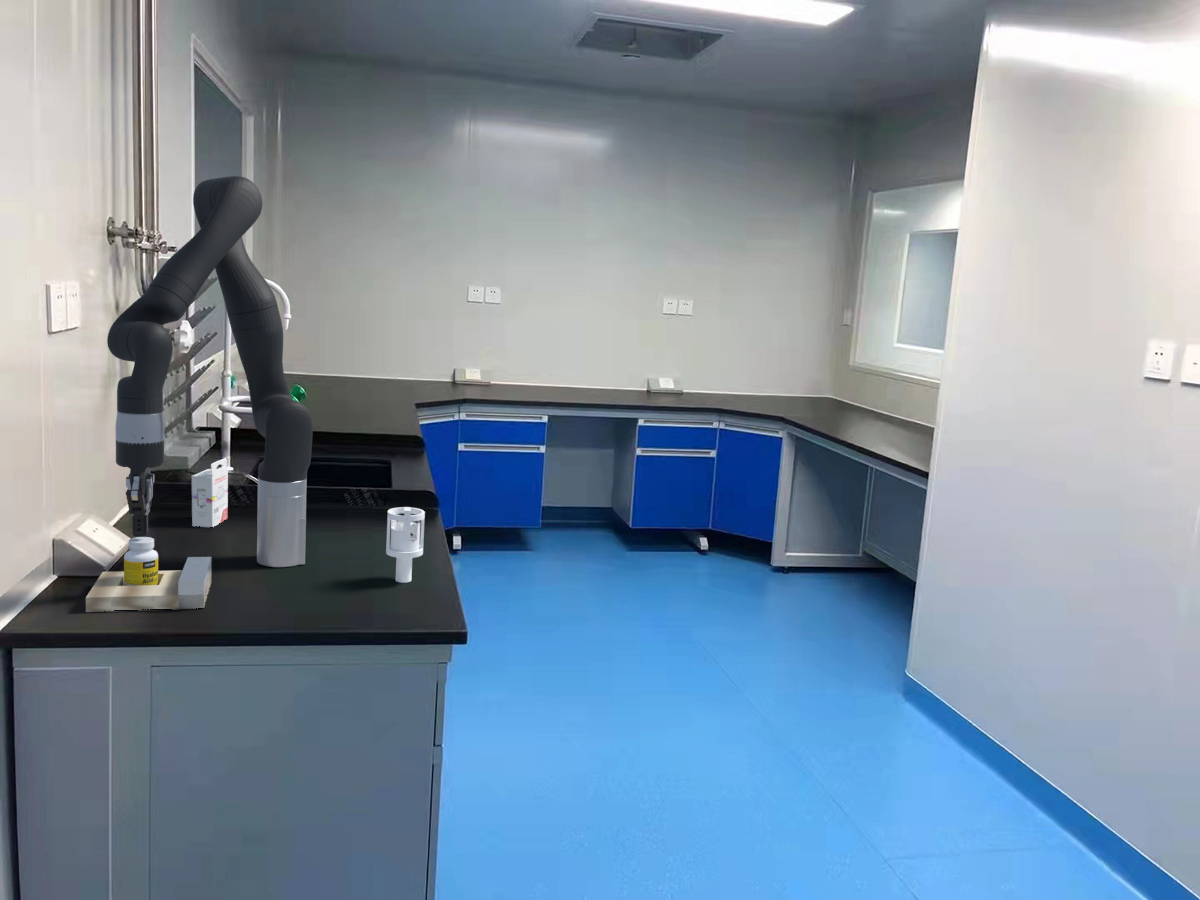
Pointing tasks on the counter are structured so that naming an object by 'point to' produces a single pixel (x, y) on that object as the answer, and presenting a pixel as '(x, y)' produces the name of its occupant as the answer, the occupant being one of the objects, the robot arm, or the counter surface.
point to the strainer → (405, 539)
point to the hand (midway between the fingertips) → (140, 535)
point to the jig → (154, 589)
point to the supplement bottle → (141, 563)
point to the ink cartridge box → (210, 495)
